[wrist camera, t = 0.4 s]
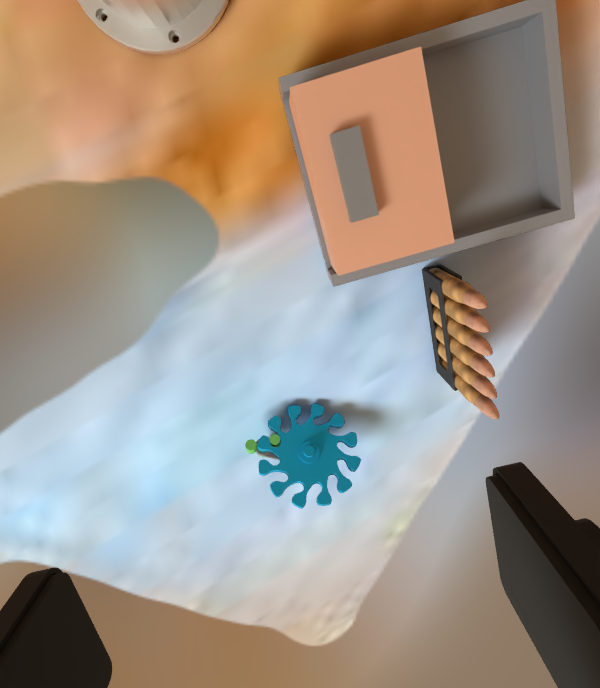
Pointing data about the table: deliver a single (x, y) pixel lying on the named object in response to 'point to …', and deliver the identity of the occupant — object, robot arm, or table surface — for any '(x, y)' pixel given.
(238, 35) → the table surface
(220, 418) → the table surface
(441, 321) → the ammunition clip
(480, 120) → the grey shallow rimmed piece
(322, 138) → the slider
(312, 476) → the gear
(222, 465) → the table surface
